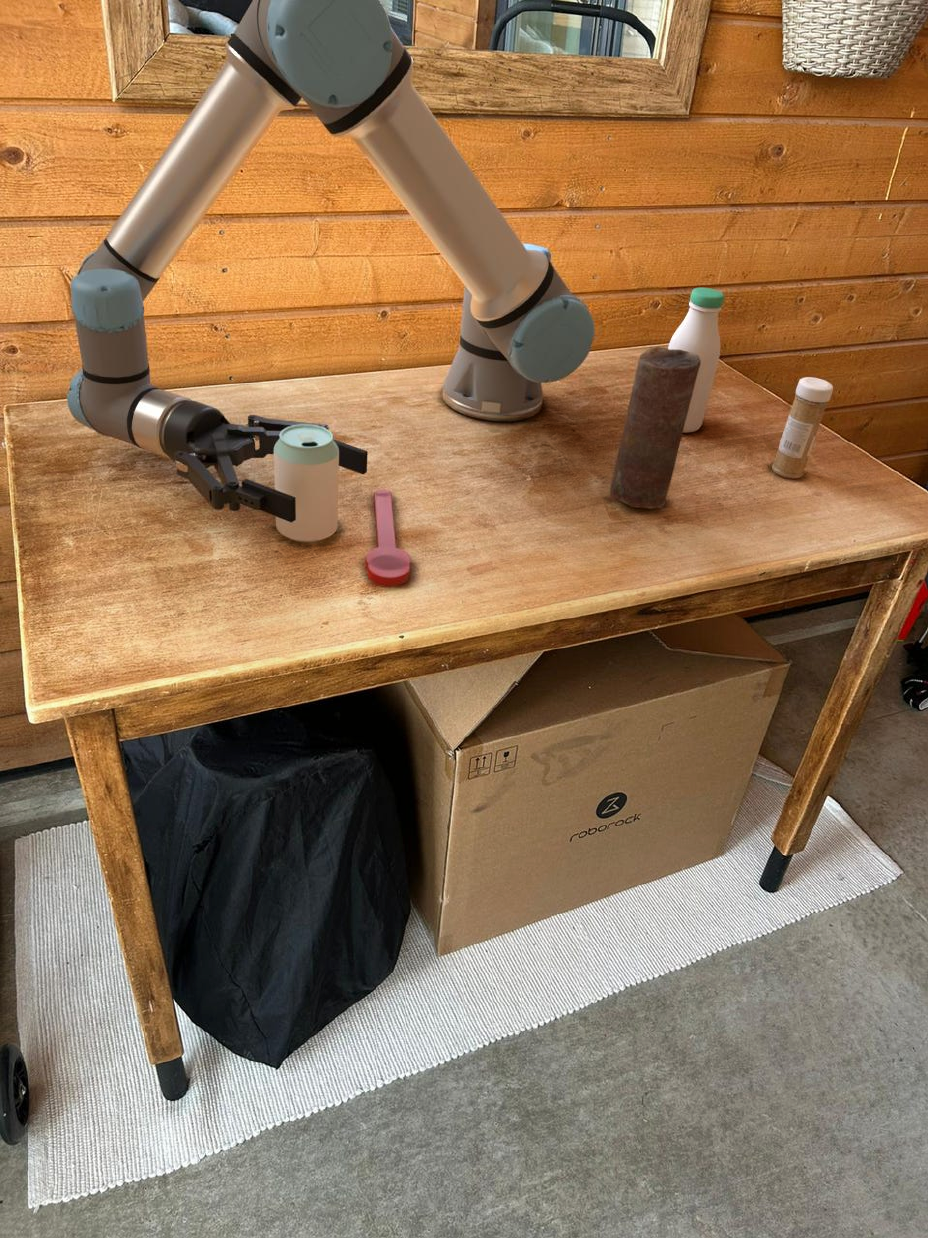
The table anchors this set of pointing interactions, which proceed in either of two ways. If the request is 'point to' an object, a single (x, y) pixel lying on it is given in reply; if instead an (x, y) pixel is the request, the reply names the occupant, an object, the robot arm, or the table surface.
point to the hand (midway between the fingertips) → (331, 485)
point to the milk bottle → (700, 348)
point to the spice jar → (802, 427)
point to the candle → (654, 426)
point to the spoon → (386, 547)
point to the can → (308, 481)
